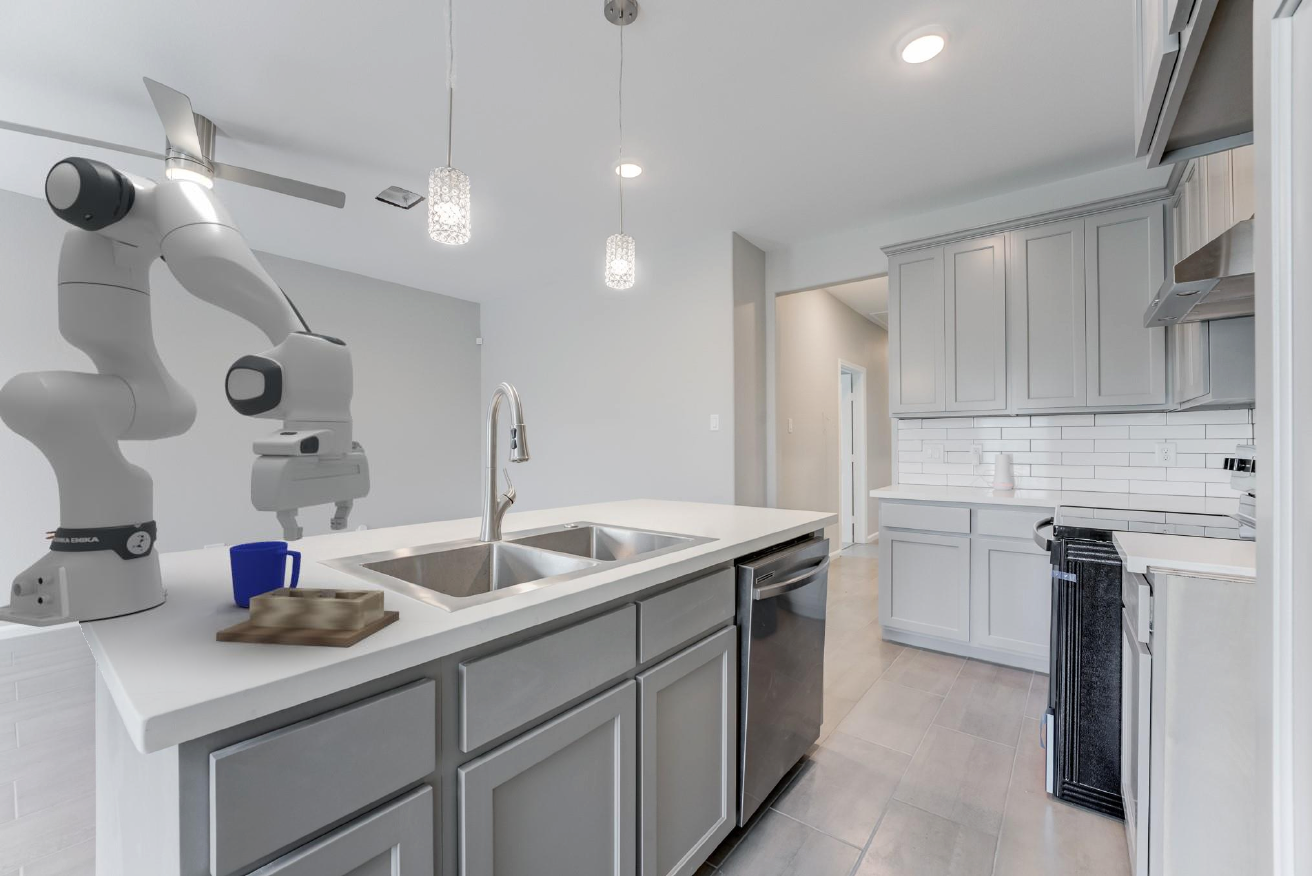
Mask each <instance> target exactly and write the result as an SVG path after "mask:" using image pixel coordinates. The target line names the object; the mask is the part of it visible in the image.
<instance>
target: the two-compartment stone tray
mask: <svg viewBox="0 0 1312 876" xmlns="http://www.w3.org/2000/svg"><path fill="white" fill-rule="evenodd" d="M283 588H285V586H284V587H282V588H279V589H283ZM288 588H289V587H288ZM289 589H290V597H288V596H278V595H275V590H273V591H270V592H267V593H264V594H261V595H258V596H255V597H252V598H250V607H249V620H250V626H265V627H288V628H311V629H334V630H357V631H359V630H361V629H363V628H364V627H366V626H368V625H370V624H372V623H374V622H376V621H378V620H380V619H382V618H383V617H384V611H385V591H384V590H373V589H372V590H371V589H369V590H367V589H365V590H364V589H344V588H343V589H341V588H340V589H335V588H305V587H296V588H289ZM276 590H278V589H276ZM326 590H335V591H336V599H335V598H333V597H321V592H323V591H326Z"/></svg>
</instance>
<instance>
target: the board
mask: <svg viewBox="0 0 1312 876" xmlns="http://www.w3.org/2000/svg"><path fill="white" fill-rule="evenodd" d="M275 595H278V596H288V597H290V589H289V587H284V588H283V589H278V590H275ZM321 597H333V598H335V599H336V591H335V590H326V591H323V592H321ZM399 619H400V611H399V610H398V611H397V610H396V611H395V610H384V617H383V618H382V619H380V620H378V621H376V622H374V623H372V624H370V625H368V626H366V627H364V628H363V629H361V630H359V631H357V630H334V629H311V628H288V627H265V626H250V619H247V620H245V621H242V622H240V623H237V624H234V625H232V626H230V627H227V628H224V629H221V630H219V631H216V632H215V633H216V636H215V639H216V642H231V643H232V642H233V643H234V642H235V643H236V642H237V643H254V644H255V643H256V644H257V643H258V644H272V645H273V644H277V645H299V646H318V647H319V646H320V647H338V648H340V647H341V648H349V647H351V646H353V645H355V644H356V643H358V642H360V641H362V640H364V639H366V638H367V637H369V636H371V635H373V634H375V633H377V632H378V631H380V630H382V629H384V628H385V627H387V626H389V625H391V624H393V623H395V622H396V621H398V620H399Z"/></svg>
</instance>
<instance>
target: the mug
mask: <svg viewBox="0 0 1312 876" xmlns="http://www.w3.org/2000/svg"><path fill="white" fill-rule="evenodd" d="M288 547H289V544H288V542H287V541H282V540H281V541H279V540H278V541H277V540H275V541H274V540H273V541H271V540H270V541H269V540H268V541H255V542H246V543H241V544H236V545H233V546H231V547H229V557H230V558H229V559H230V568H231V570H230V572H231V578H232V579H231V581H232V590H233V599H234V602H235V604H236V605H237V606H239V607H243V608H250V598H252V597H255V596H258V595H261V594H264V593H267V592H270V591H273V590H276V589H279V588H282V587H284V588H285V579H286V568H287V558H288V557H287V556H291V557H292V567H291V569H292V570H291V575H290V576H291V577H290V578H291V579H290V583H289V587H288V588H298V587H297V586H298V583H299V579H300V572H301V564H302V563H301V560H302V553H301V552H300V551H297V550H296V551H295V550H288V549H289V548H288Z"/></svg>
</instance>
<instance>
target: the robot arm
mask: <svg viewBox="0 0 1312 876" xmlns="http://www.w3.org/2000/svg"><path fill="white" fill-rule="evenodd" d="M44 193H45V198H46V201H47V203H48V205H49V206H50V209H51V211H52V212H53V213H54V214H55V216H57V217H58V218H59V219H61V220H63V221H65V222H66V223H69V224H70V225H72V226H71V227H70V228H69V229H68V230H67V231H66V233H65V234H64V237H63V241H62V245H61V248H60V253H59V254H60V255H59V260H58V266H57V308H58V309H57V313H58V314H57V315H58V329H59V333H60V334H61V336H62V337H63V339H64V340H65V341H66V342H67V343H68V344H69V345H72V346H73V347H75V348H77V349H78V350H79V351H82V352H83V353H84V354H85V355H87V356H88V357H89V359H90V360H92V363H93V364H94V365H95V367H96V370H97V373H92V372H83V371H81V372H80V371H71V370H61V369H60V370H43V371H31V372H22V373H19V374H16V375H14V376H13V377H11V378H10V379H8V380H7V382H6V383H4V385H3V386H2V387H1V389H0V418H1V421H2V422H3V423H4V424H5V425H6V427H7V428H8V429H10V430H11V431H12V432H14V433H15V434H17V435H19V436H21V437H23V438H24V439H25V440H27V441H29V442H30V443H31V444H32V445H34V446H35V447H36V448H37V449H38V450H39V451H40V452H41V453H42V454H43V456H44V457H45V458H46V459H47V461H48V462H49V464H50V466H51V468H52V470H53V473H54V474H55V477H56V482H57V485H58V487H57V488H58V495H59V515H60V516H59V517H60V518H59V519H60V520H59V521H60V522H59V523H60V525H59V527H57V528H56V530H54V531H53V530H51V531H46V532H45V534H46V535H47V534H54V535H50V536H47V537H45V539H46V540H52V541H51V543H50V546H49V550H50V551H49V552H48V553H46V554H45V555H44V556H42V557H41V558H40V559H38V560H37V561H36V562H34V563H33V564H32V565H30V566H29V567H28V568H26V569H25V570H23V571H22V572H20V573H19V574H17V575H16V577H14V579H13V580H12V583H11V587H10V588H11V590H10V598H9V599H10V601H9V604H7V605H4V606H3V605H2V606H0V621H2V622H8V623H13V624H18V625H26V626H31V627H37V628H43V627H45V628H46V627H51V626H53V627H54V626H56V625H63V624H69V623H77V622H83V621H93V620H99V619H105V618H112V617H116V616H123V615H126V614H131V613H135V612H140V611H144V610H147V609H150V608H153V607H156V606H159V605H161V604H163V603H164V602H165V601H166V600H167V599H166V595H167V594H168V590H167V587H163V579H162V571H161V563H160V557H159V556H160V555H159V552H158V550H157V549H156V548H155V545H154V544H155V542H156V541H157V538H158V537H157V536H158V535H157V532H158V527H157V522H156V520H154V480H153V478H152V476H151V474H150V473H149V472H148V471H147V470H146V469H144V468H142V467H140V466H138V465H136V464H133V463H131V462H129V461H128V460H127V459H126V457H125V456H124V454H123V453H122V451H121V449H120V446H119V441H157V440H163V439H164V440H165V439H168V438H173V437H174V438H175V437H178V436H181V435H183V434H185V433H187V432H188V431H189V430H190V429H191V428H192V427H193V425H194V423H195V421H196V419H197V416H198V415H197V412H198V408H197V403H196V401H195V398H194V396H193V395H192V393H191V392H190V391H189V390H188V389H186V387H183V386H182V385H181V384H180V383H178V381H177V380H176V379H175V378H174V377H173V376H172V375H171V374H170V372H169V371H168V369H167V367H166V366H165V364H164V363H163V361H162V359H161V357H160V355H159V353H158V350H157V347H156V344H155V339H154V335H153V326H152V325H153V324H152V311H151V286H150V268H151V265H152V264H153V263H154V262H155V260H157V259H158V258H160V259H161V260H162V261H163V262H164V263H166V265H167V268H168V270H169V271H170V273H171V274H172V276H174V278H175V280H176V281H178V283H179V284H180V285H181V286H182V287H183V289H185V290H186V291H187V292H188V293H189V294H191V295H192V296H194V297H196V298H198V299H199V300H202V301H204V302H205V303H206V302H207V304H208V303H209V304H210V305H213V306H216V307H218V308H220V309H223V310H225V311H228V312H229V313H231V314H233V315H236V316H238V317H239V318H242V319H244V320H245V321H247V322H249V323H250V324H252V325H253V326H256V327H257V328H258V329H259V330H261V331H262V332H263V333H264V334H265V336H266V337H267V338H268V339H269V341H270V342H271V344H272V345H273V348H270V349H267V350H265V351H262V352H259V353H256V354H251V355H250V354H247V355H244V356H241V357H239V358H238V359H237V360H235V362H233V364H231V365H230V367H229V369H228V370H227V373H226V375H225V382H224V391H225V392H224V393H225V396H226V399H227V400H228V402H229V404H230V406H231V407H232V408H233V409H234V410H235V411H236V412H237V413H239V414H240V415H241V416H246V417H250V418H255V419H265V420H276V421H277V420H279V421H282V422H283V424H282V428H280V429H277V430H275V431H272V432H271V433H270V432H269V433H268V434H265V435H263V436H260V437H258V438H256V439H254V440H253V441H252V442H253V443H252V453H253V454H254V455H256V456H258V457H256V458H255V459H254V462H253V465H252V467H251V468H252V469H251V476H250V500H251V504H252V506H253V507H254V508H255V510H256V511H257V512H276V519H277V521H278V522H279V524H280V526H281V528H282V529H283V537H282V538H283V540H284V542H296V541H299V540H301V539H303V537H304V535H303V532H304V531H303V530H304V527H303V526H299V525H298V522H297V519H296V517H297V516H299V509H301V508H306V507H307V508H308V507H313V506H319V505H326V504H331V503H334V507H336V511H335V514H334V516H333V517H332V518H330V529H331V530H332V531H340V530H341V531H342V530H345V529H347V527H348V518H349V516H350V514H351V511H352V509H353V506H354V500H356V499H363V498H366V497H367V496H368V494H369V493H370V489H371V482H370V481H371V480H370V467H369V462H368V461H369V460H368V458H367V457H368V456H366V453H365V449H364V448H363V446H362V445H361V444H360V442H358V441H353V417H352V414H351V401H352V398H353V395H354V373H353V372H354V370H353V369H354V368H353V361H352V355H351V351H350V349H349V346H348V344H347V343H345V341H343V340H341V339H340V338H337V337H332V336H329V335H323V334H319V333H314V332H312V330H311V329H310V328H309V326H308V324H307V323H306V321H305V320H304V318H303V316H302V315H301V313H300V312H299V310H298V309H297V307H296V305H295V304H294V303H293V301H292V300H291V299H290V298H289V297H288V295H287V294H286V293H285V291H283V289H282V288H281V287H280V285H278V284H277V282H275V281H274V280H273V278H272V277H271V276H270V275H269V273H268V272H267V271H266V270H265V269H264V268H263V266H262V264H261V263H260V262H259V260H258V259H257V257H256V256H255V254H254V252H252V250H251V248H250V247H249V244H248V243H247V241H246V239H245V236H244V235H243V233H242V231H241V229H240V228H239V225H238V224H237V222H236V221H235V219H234V218H233V216H232V214H231V213H230V212H229V210H228V209H227V208H226V206H225V205H224V203H223V202H222V200H220V199H219V197H218V196H217V195H216V194H215V192H213V191H212V190H211V189H210V188H208V187H207V186H205V185H203V184H202V183H200V182H197V181H194V180H189V179H183V178H173V179H167V180H165V181H162V182H158V181H156V180H154V179H151V178H147V177H143V176H141V175H138V174H134V173H132V172H129V171H125V170H123V169H119V168H115V167H112V166H111V165H109V164H107V163H106V162H102V161H99V160H95V159H91V158H86V157H80V156H69V157H65V158H63V159H62V160H59V161H57V162H56V163H54V165H53V166H52V167H51V168H50V170H49V172H48V173H47V176H46V179H45V184H44Z"/></svg>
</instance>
